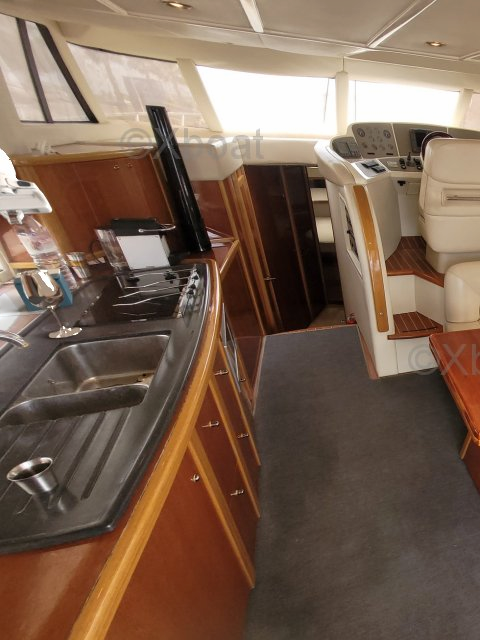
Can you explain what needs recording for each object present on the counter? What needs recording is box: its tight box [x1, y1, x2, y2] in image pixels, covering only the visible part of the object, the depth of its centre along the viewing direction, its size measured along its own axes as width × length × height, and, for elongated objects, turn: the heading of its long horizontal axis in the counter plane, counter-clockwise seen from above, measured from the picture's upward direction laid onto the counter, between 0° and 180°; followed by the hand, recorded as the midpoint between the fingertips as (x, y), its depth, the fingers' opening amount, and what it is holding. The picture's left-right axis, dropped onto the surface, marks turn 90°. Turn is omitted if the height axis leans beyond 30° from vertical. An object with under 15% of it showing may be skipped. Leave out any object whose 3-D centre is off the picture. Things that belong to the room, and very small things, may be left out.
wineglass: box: [19, 268, 82, 339], centre depth 118 cm, size 8×8×20 cm
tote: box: [12, 269, 73, 312], centre depth 140 cm, size 13×11×10 cm
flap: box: [15, 268, 61, 278], centre depth 139 cm, size 6×11×1 cm, turn 131°
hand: (15, 223), depth 135 cm, fingers closed
